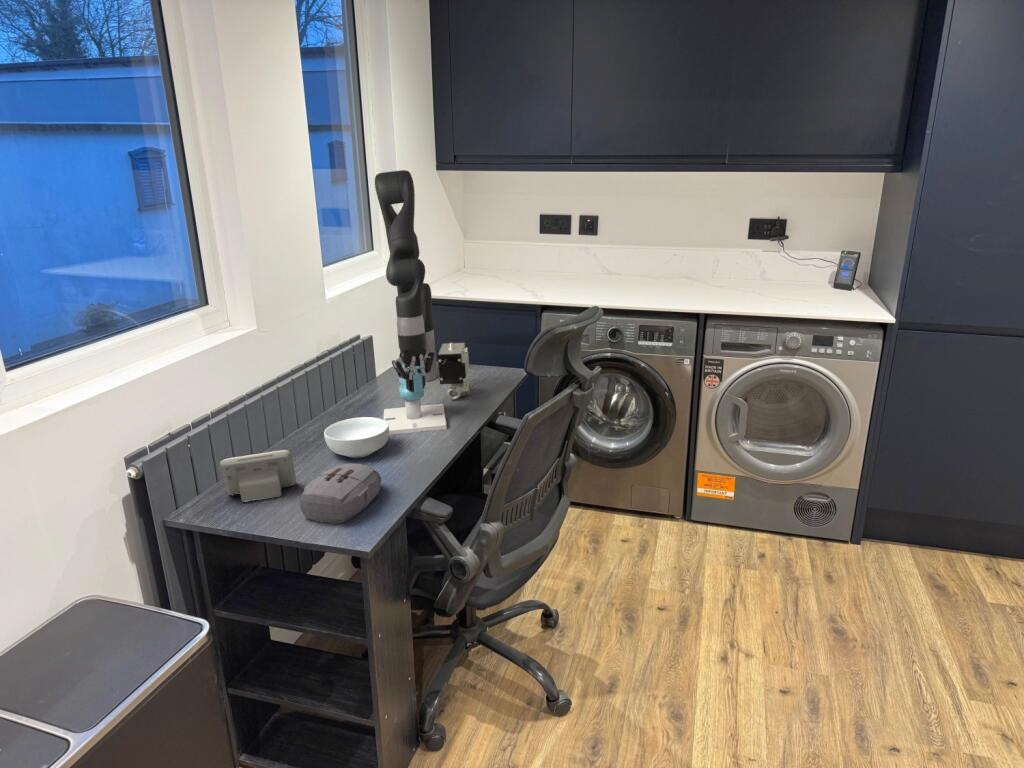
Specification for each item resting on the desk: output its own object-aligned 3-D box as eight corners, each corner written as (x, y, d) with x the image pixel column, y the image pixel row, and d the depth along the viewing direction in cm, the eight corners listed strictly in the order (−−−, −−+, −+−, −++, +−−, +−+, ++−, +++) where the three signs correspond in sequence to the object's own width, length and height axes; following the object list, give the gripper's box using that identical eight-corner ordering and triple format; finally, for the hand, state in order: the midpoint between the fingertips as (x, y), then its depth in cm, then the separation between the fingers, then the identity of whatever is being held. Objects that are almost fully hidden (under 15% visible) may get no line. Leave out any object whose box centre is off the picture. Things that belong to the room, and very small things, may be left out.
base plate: (384, 412, 218) (381, 389, 216) (443, 407, 220) (441, 384, 218) (382, 435, 201) (380, 410, 199) (446, 429, 204) (444, 404, 201)
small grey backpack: (351, 529, 153) (395, 487, 171) (347, 494, 150) (391, 455, 168) (292, 520, 158) (340, 480, 176) (286, 486, 155) (336, 449, 173)
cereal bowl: (401, 441, 197) (398, 418, 194) (374, 467, 181) (371, 442, 179) (345, 437, 201) (342, 414, 199) (315, 462, 186) (311, 437, 184)
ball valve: (468, 405, 221) (464, 350, 215) (440, 406, 221) (436, 351, 215) (472, 386, 238) (468, 335, 232) (447, 387, 238) (443, 336, 232)
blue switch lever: (393, 392, 212) (390, 366, 209) (415, 388, 215) (412, 361, 212) (408, 404, 202) (406, 376, 199) (431, 398, 205) (429, 371, 202)
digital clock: (300, 482, 175) (293, 442, 172) (292, 499, 167) (285, 458, 163) (233, 487, 174) (225, 448, 171) (221, 505, 166) (213, 464, 162)
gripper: (423, 324, 206) (428, 381, 211) (382, 334, 197) (388, 393, 202) (439, 328, 201) (443, 386, 206) (397, 338, 192) (403, 398, 197)
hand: (416, 389), depth 204 cm, fingers closed on blue switch lever, 3 cm apart
